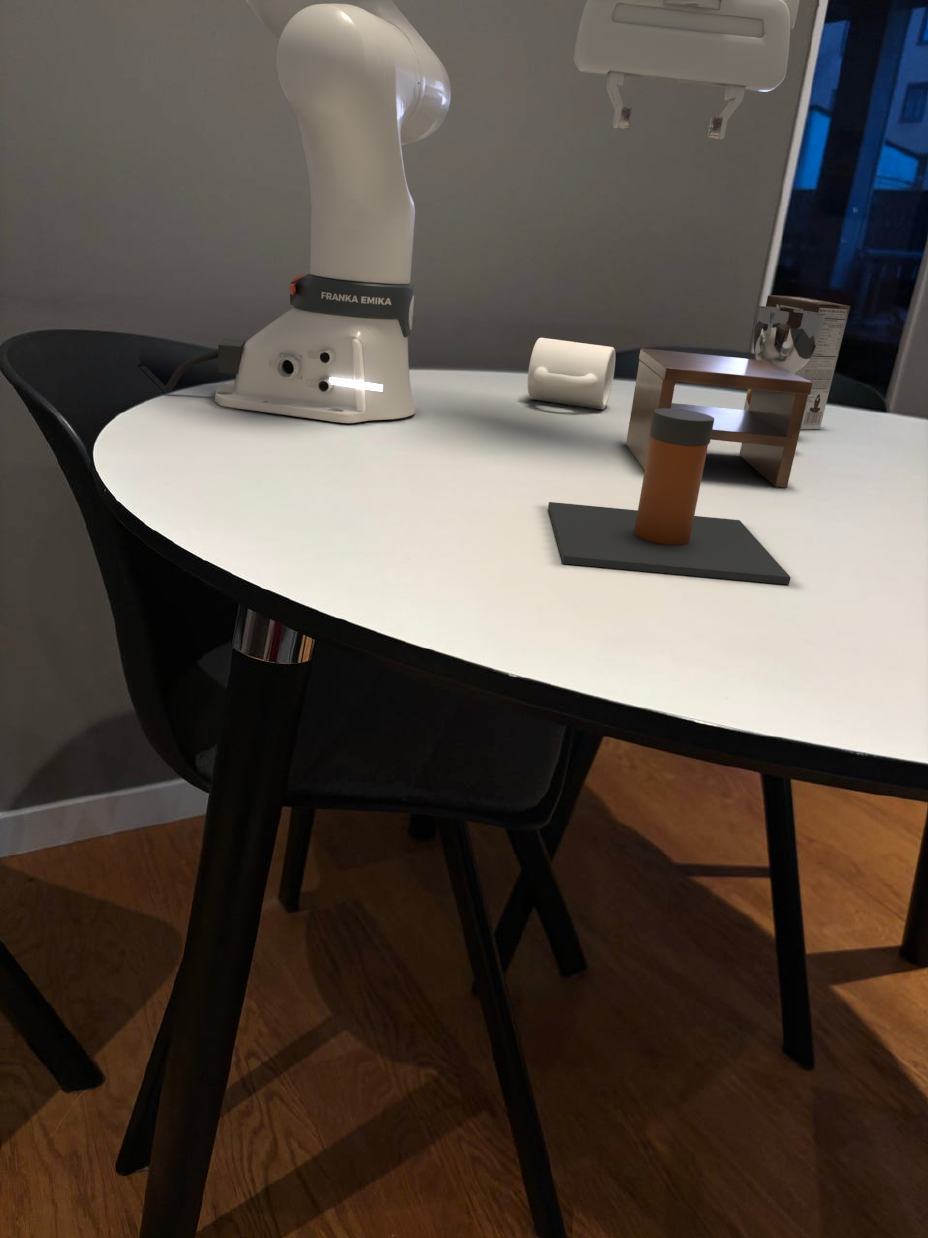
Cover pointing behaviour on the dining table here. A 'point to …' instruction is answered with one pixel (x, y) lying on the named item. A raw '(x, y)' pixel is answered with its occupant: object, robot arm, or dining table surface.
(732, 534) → the mat
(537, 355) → the mug
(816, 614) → the dining table surface
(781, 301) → the coffee box
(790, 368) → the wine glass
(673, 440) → the spice bottle
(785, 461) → the shelf
